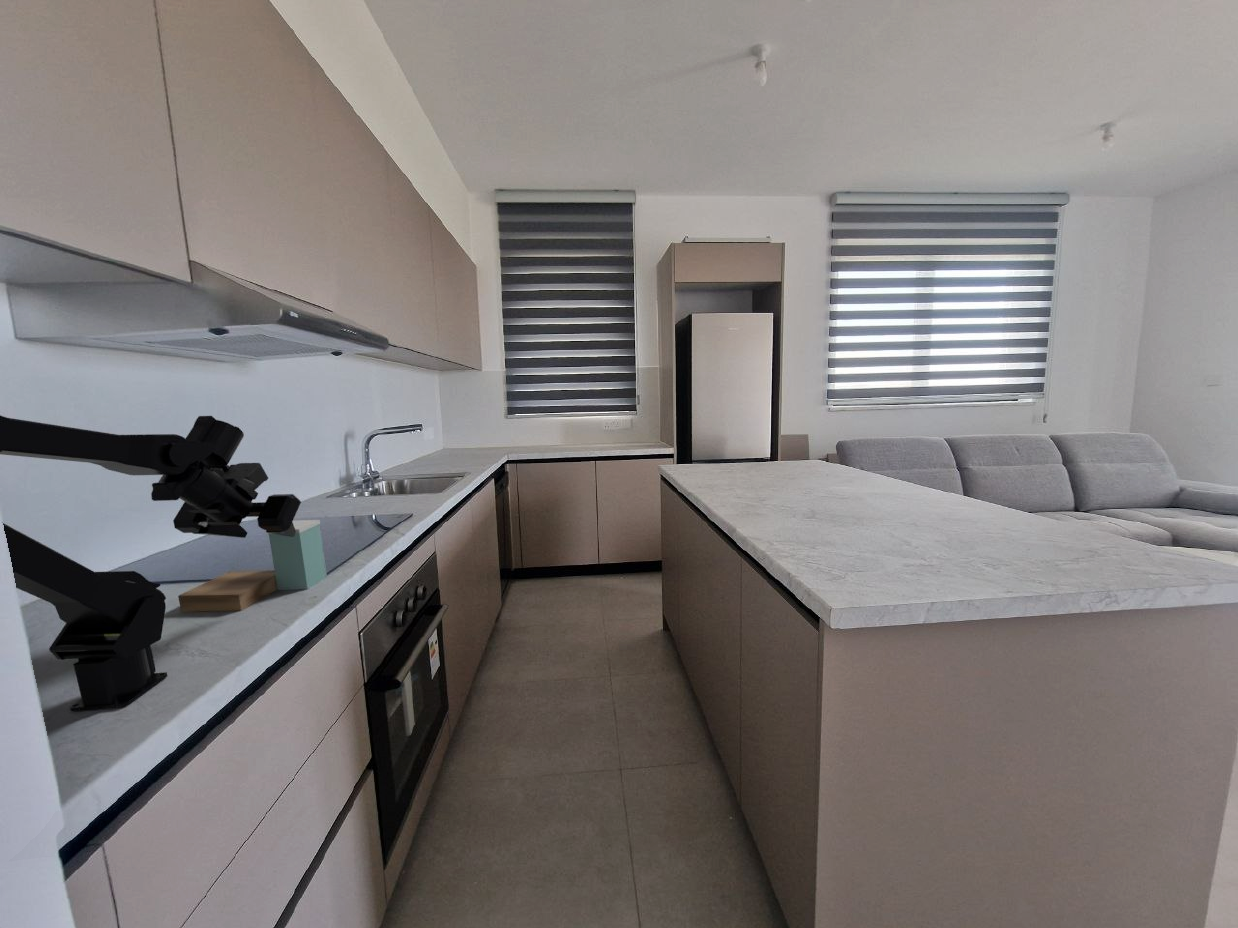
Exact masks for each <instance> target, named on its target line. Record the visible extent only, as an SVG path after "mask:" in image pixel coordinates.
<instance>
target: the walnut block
mask: <svg viewBox="0 0 1238 928" xmlns="http://www.w3.org/2000/svg"><path fill="white" fill-rule="evenodd" d="M275 591H278V589H277V583H276V577H275V571H274V570H230V571H227V572H225V573H223V574H221V575H219V576H216V577H215V578H213V579H210V580H208V581H207V582H204V583H202V584H200V585H197V586H196V587H193V588H192V589H190V590H187V591H185V592H183V593H181V594H179V595H178V596H177V597H178V602H179V607H180V612H216V611H218V612H222V611H223V612H225V611H226V612H227V611H232V612H233V611H235V612H236V611H243V610H245V609H247V608H248V607H249V606H251V605H253V604H255V603H257V602H259V601H260V600H262V599H264V598H265V597H267V596H268V595H271V594H272V593H273V592H275Z"/></svg>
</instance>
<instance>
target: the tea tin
mask: <svg viewBox="0 0 1238 928" xmlns="http://www.w3.org/2000/svg"><path fill="white" fill-rule="evenodd" d="M292 522H293V525H294V528H295V530H296V533H295V536H294V537H289V536H283V535H278V534H272V533H267V535H268V539H269V544H270V550H271V557H272V563H273V569H274V571H275V577H276V583H277V591H281V590H285V591H286V590H292V591H293V590H309V589H310V588H312V587H313V586H315V585H317V584H318V583H320V582H322V581H323V580H324V579H326V578H327V576H328V574H327V567H326V561H325V554H324V546H323V540H322V532H321V527H320V525H321V520H320V519H302V520H300V519H299V520H298V519H297V520H294V519H293V521H292Z"/></svg>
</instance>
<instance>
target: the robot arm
mask: <svg viewBox="0 0 1238 928" xmlns="http://www.w3.org/2000/svg"><path fill="white" fill-rule="evenodd" d="M244 435H245V434H244V431H243V430H241V428H240V427H238V426H235V425H233V424H231V423H229V422H226V421H223V420H219V419H216V418H215V417H214V416H213V415H198V417H197V418H196V419H195V421H194V424H193V426H192V428H191V429H190V431H189V432H188V434H187V435H186V436H185V437H184V436H182V435H179V434H173V433H171V434H169V433H168V434H167V433H166V434H165V433H164V434H163V433H161V434H159V433H157V434H155V433H154V434H149V433H148V434H115V433H109V432H102V431H96V430H90V429H82V428H77V427H70V426H65V425H63V426H62V425H57V424H51V423H42V422H38V421H31V420H24V419H18V418H12V417H7V416H3V415H0V455H2V456H13V457H15V456H16V457H25V458H26V457H27V458H36V459H46V460H56V461H57V460H59V461H68V462H76V463H77V462H78V463H88V464H92V465H93V464H94V465H96V466H97V465H98V466H101V468H105V470H109V471H111V472H116V473H119V474H124V475H129V476H161V477H160V478H159V480H158V481H157V482H153V483H152V484H151V487H152V491H151V493H150V494H151V495H150V496H151V501H153V502H159V501H161V502H164V501H165V502H166V501H168V502H169V501H178V500H179V499H180V500H182V501H183V503H182V505H181V507H180V509H179V510H178V512H177V513H176V515H175V516H174V519H173V520H172V521H173V526H174V529H176V530H178V531H179V532H181V533H183V534H193V535H206V536H216V537H219V536H220V537H228V538H229V537H231V538H241V539H243V538H247V535H248V532H247V531H246V529H244V527H243V526H241V523H242V522H243V520H244V519H246V518H247V517H248V518H249V517H250V518H253V517H254V518H256V517H257V525H258V528H261V529H262V530H264V531H265V532H266V534H268V533H272V534H278V535H283V536H289V537H294V536H295V533H296V530H295V528H294V525H293V522H292V521H294V519H295V517H296V515H297V513H298V510H299V508H300V506H301V503H302V502H301V500H300V499H299V498H298V497H297V496H296V495H295V494H293V493H286V494H283V493H282V494H278V493H277V494H271V495H269V496H268V497H267V499H266V501H264V502H252V501H253V500H256V499H257V497H258V496H259V493H258V492H257V491H256V490H257V489H258V488H259V487H260V486H261V485H262V484H263V483H264V482H267V480H268V479H269V477H268V475H267V474H268V473H266V471H265V469H264V468H263V466H262V464H261V463H260V462H238V463H235V464H230V465H228V464H229V463H230V461H231V459H232V458H233V456H234V454H235V453H236V451H237V449H238V447H239V446H240V444H241V442H242V440H243V438H244ZM2 523H3V525H4V531H5V534H6V538H7V543H8V548H9V552H10V557H11V562H12V567H13V573H14V578H15V583H16V589H18V590H20V591H22V592H24V593H27V594H29V595H31V596H33V597H36V598H38V599H41V600H43V601H45V602H47V603H50V604H51V605H53V606H54V607H55V610H56V612H57V614H58V619H60V620H61V621H63V622H64V623H65V624H64V626H63V628H62V629H60V632H59V633H58V635H57V636H56V638H55V639H54V640H53V642H52V644H51V645H50V646H49V652H50V653H51V654H52V655H53V656H54V657H55V658H56V659H57V660H58V661H65V660H78V661H76V662H74V663H73V664H72V665H73V669H74V672H75V673H74V674H75V677H76V682H77V685H78V690H79V693H80V697H81V699H80V700H78V701H76V702H75V703H73V704H71V705H70V706H69V711H70V712H75V711H76V712H77V711H79V712H80V711H87V710H99V709H101V710H102V709H112V708H122V707H126V706H128V705H130V704H132V702H134V701H135V700H136V699H138V698H139V697H141V696H142V695H143V694H145V693H146V692H147V691H149V690H151V689H152V688H153V687H154V686H156V685H158V684H159V683H160V682H161V681H163V680H164V679H166V678H167V677H168V672H166V671H165V672H156V666H155V665H156V664H155V661H154V655H153V651H152V647H151V646H152V645H153V644H155V643H157V642H159V641H161V639H162V634H163V628H164V622H165V615H166V602H165V601H166V599H167V597H166V595H165V594H164V593H163V591H162V590H160V589H159V587H160V586H161V583H154V582H152V581H149V580H148V579H147V578H146V577H144V576H143V574H142V573H139V572H138V571H135V570H122V571H121V570H120V571H119V570H117V571H115V570H114V571H94V570H92V569H90V568H88V567H86V566H84V565H82V564H81V563H78V562H77V561H75V560H73V559H72V558H69V557H67V556H65V555H64V554H62V553H60V552H58V551H56V550H54V549H52V548H51V547H49V546H47V545H46V544H43V543H41V542H39V541H37V540H36V539H34V538H31V537H30V536H28V535H26V534H25V533H23V532H21V531H18V530H17V529H15V528H13V527H12V526H10V525H8V524H6V523H4V522H2ZM104 634H120V635H119V636H104Z"/></svg>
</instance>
